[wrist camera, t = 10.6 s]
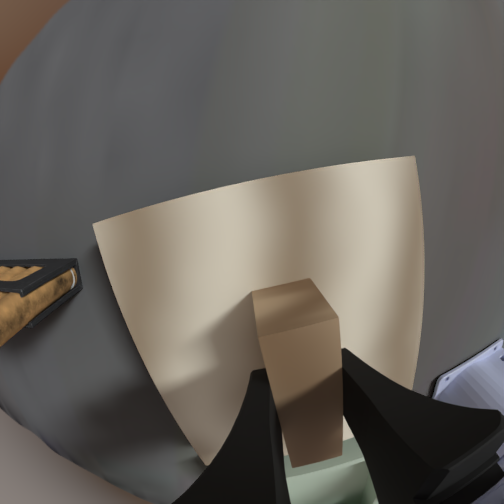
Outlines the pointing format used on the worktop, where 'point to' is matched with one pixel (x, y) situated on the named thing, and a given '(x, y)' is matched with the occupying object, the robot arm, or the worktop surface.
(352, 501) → the flat box
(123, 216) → the lid
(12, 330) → the ammunition clip
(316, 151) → the worktop surface
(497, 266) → the worktop surface
